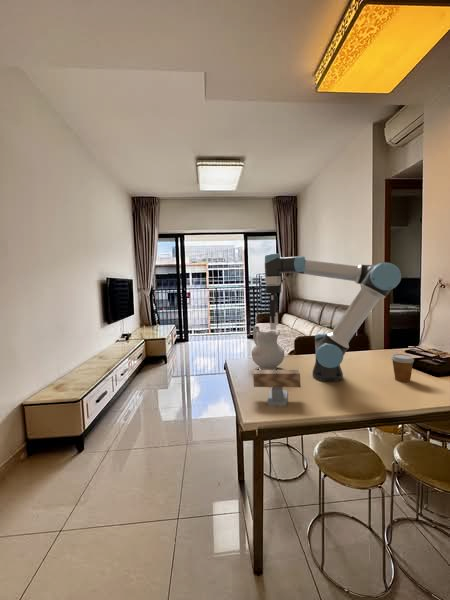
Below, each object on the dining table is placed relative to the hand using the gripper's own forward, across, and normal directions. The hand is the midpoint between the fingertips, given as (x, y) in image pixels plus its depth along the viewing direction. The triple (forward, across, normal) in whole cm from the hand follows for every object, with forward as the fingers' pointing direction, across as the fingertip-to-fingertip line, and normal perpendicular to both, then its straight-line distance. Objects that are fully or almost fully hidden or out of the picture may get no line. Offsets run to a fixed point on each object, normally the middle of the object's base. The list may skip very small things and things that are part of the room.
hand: (274, 327), depth 135 cm
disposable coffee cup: (+29, -12, +61) cm, 69 cm away
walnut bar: (+23, +18, +2) cm, 29 cm away
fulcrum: (+29, +19, +2) cm, 34 cm away
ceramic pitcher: (+29, -22, -7) cm, 37 cm away
